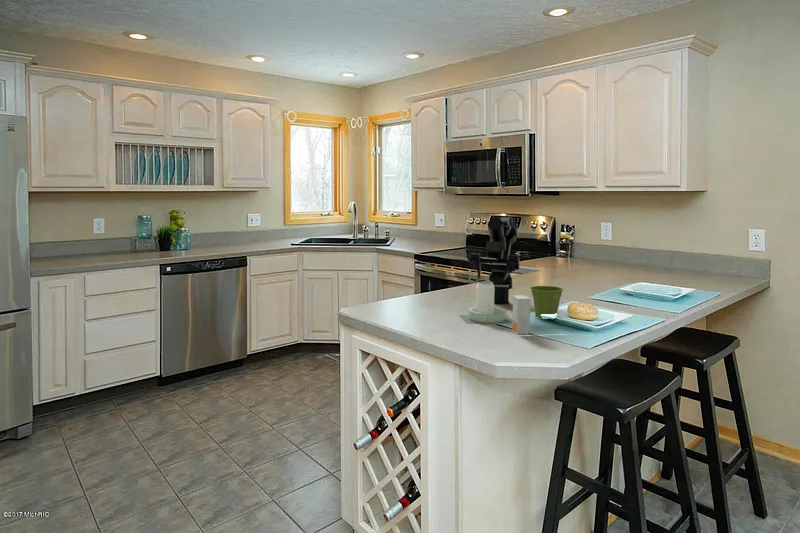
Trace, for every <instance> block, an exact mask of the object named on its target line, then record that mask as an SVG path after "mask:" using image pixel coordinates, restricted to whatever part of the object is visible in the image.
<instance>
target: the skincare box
mask: <svg viewBox="0 0 800 533" xmlns="http://www.w3.org/2000/svg"><path fill="white" fill-rule="evenodd" d="M511 318H512V323H511V324H512V325H511V330H512V331H513V332H514V333H515V334H517V335H526V336H529V335H530V331H531V330H530V328H531V327H530V324H531V298H530V297H528V296H527V295H525V294H524V295H523V294H520V295H519V294H517V295H513V296H512V317H511Z"/></svg>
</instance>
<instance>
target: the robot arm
mask: <svg viewBox="0 0 800 533" xmlns="http://www.w3.org/2000/svg"><path fill="white" fill-rule="evenodd" d="M487 231H488V236H489V239H490V240H489V241H486V253H485V255H486V256H485V257H484V256H481V253H474V252H473V253H470V254H469V255H468V262H469V267H471V268H473V270H475V271H476V274H477V278H478V280H480V279H481V275H482V274H481V273H482V268H481V267H482V264H492V267H491V272H490V273H489V276H488V277H489V280H488V282H493V285H494V305H495V304H496V305H498V304H500V305H501V304H503V305H504V304H510V303H511V302H510V301H509V295H510V294H509V293H510V289H512V290H513V278H512V275H511V274H512V273H513V272H515V271H518V270H520V266H521V265H520V264H521V263H520V256H519V255H517V254H516V255H515V254H514V255H512V254H511V255H510V253H511V247H512V245H513V244H514V243H516V240H517V238H518V234H519V230H518V224H517V223H516V222H515V221H514V219H513V217H511V216H500V217H499V216H493V218H491V219H489V220H488V222H487Z"/></svg>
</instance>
